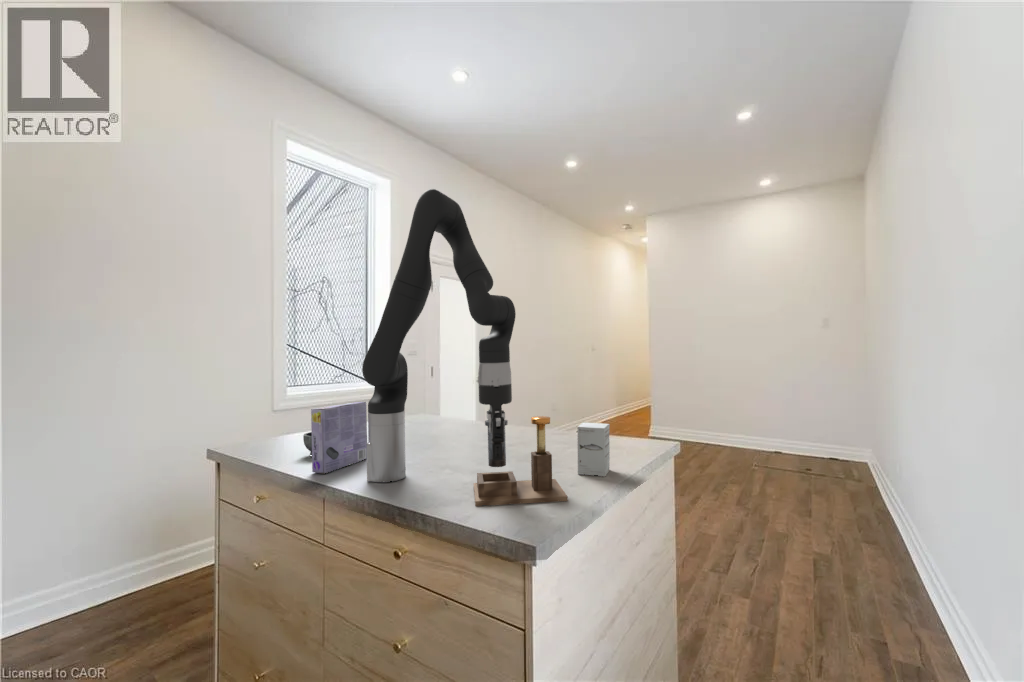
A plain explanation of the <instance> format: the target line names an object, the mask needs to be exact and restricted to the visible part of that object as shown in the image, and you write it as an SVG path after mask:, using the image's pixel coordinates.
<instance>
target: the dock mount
mask: <svg viewBox="0 0 1024 682" xmlns="http://www.w3.org/2000/svg"><path fill="white" fill-rule="evenodd" d="M530 459H531V460H530V461H531V463H530V464H531V465H530V466H531V469H530V470H531V471H530V473H531V479H529V480H517V479H516V476H515V474H514V471H510V470H509V471H494V472H477V473H476V481H477V482H473V495H474V505H475V507H483V506H482V505H486V506H502V505H517V504H519V505H521V504H535V503H555V502H568V501H569V499H568V494H567V493H566V492H565V491H564V489H563V488H562V486H561V485H560V484H559V482H558V481H557V479H556V478H553V455H552V453H551V452H550V451H546V455H537V450H536V451H531V452H530Z"/></svg>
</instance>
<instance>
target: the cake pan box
mask: <svg viewBox="0 0 1024 682" xmlns="http://www.w3.org/2000/svg"><path fill="white" fill-rule="evenodd" d="M310 414H311V415H310V416H311V419H310V421H311V423H310V424H311V425H310V426H311V432H312V457H311V468H312V469H311V470H312V471H311V472H312V473H315V474H321V475H326V474H328V472H329V473H331V472H330V471H332V472H334V471H337V470H339V469H338V468H340V469H342V468H341V467H344V466H347V465H349V464H352V463H354V464H356V462H357V463H359V462H358V461H360V462H362V461H361V460H363V461H365V460H364V459H366V460H367V443H368V411H367V402H366V401H360V402H359V401H355V402H351V403H350V402H349V403H343V404H336V405H334V404H333V405H329V406H322V407H316V408H311V410H310ZM352 465H353V464H352ZM347 467H348V466H347ZM344 468H345V467H344ZM336 469H337V470H336ZM333 470H334V471H333ZM325 473H326V474H325Z"/></svg>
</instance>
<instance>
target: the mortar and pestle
mask: <svg viewBox="0 0 1024 682" xmlns="http://www.w3.org/2000/svg"><path fill="white" fill-rule="evenodd" d="M303 445H304V446H305V448H306V449H307V450H308V452H310V453H309V456H310V455H312V431H310V432H306V433H304V434H303Z"/></svg>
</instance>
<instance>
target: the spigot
mask: <svg viewBox="0 0 1024 682" xmlns="http://www.w3.org/2000/svg"><path fill="white" fill-rule="evenodd" d="M508 421H509V420H507V419H506V418H505V419H504V426H505V427H506V426H508ZM491 425H492V422H491ZM484 426H485V427H487V451H488V452H487V455H488V456H487V457H488V458H487V459H488V466H489V467H490V468H502V467H505V466H506V465H507V450H506V449H507V448H506V447H507V446H506V430H505V431H504V442H503V443H502V453H503V459H502V460H497V461H494V460H493V456H492V442H491V440H492V434H491V433H490V432H489V421H488V419H486V420H485V421H484ZM495 437H500V433H496V434H495Z"/></svg>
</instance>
